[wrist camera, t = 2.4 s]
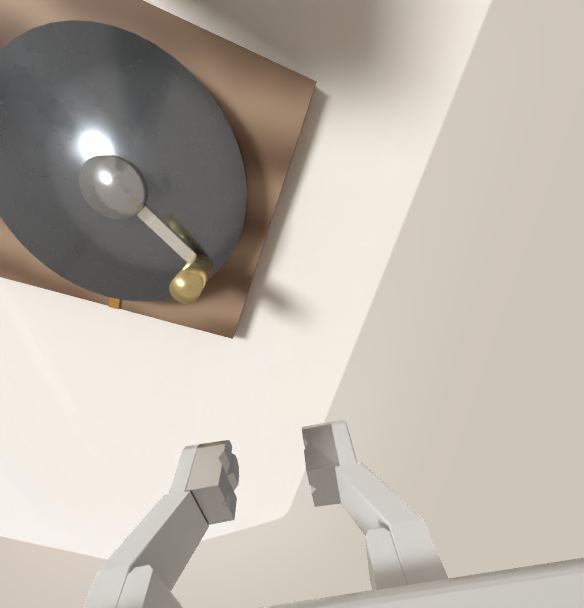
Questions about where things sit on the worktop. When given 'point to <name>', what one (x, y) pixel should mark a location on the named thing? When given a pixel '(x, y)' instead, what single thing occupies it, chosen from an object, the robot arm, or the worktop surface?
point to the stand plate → (242, 117)
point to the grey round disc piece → (116, 163)
